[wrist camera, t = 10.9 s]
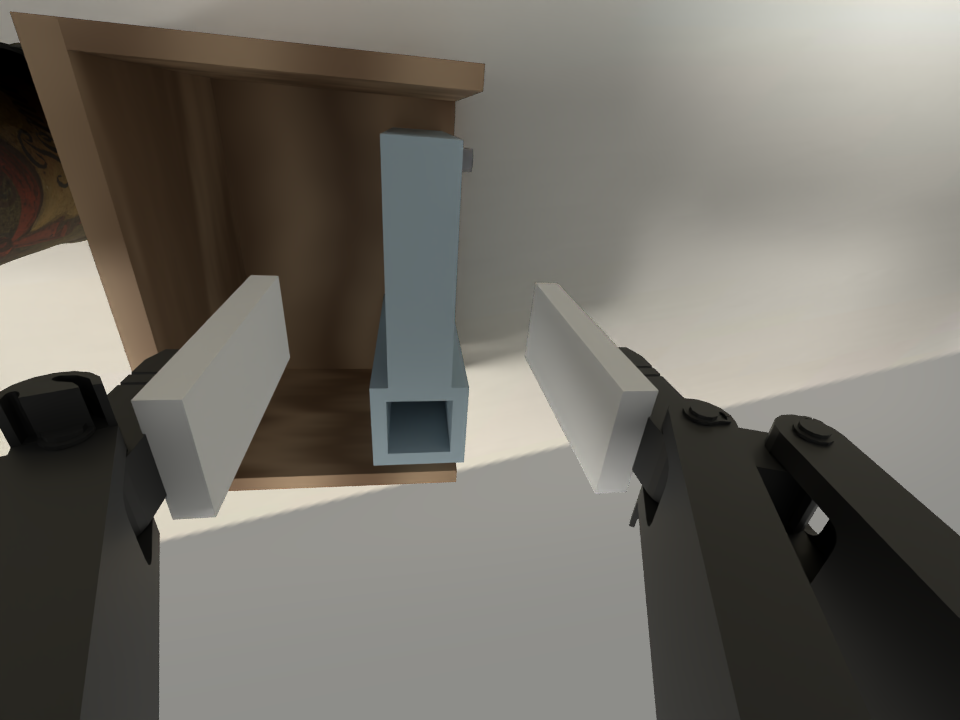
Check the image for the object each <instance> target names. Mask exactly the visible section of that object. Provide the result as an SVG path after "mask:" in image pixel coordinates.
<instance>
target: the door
mask: <svg viewBox="0 0 960 720" xmlns="http://www.w3.org/2000/svg"><path fill="white" fill-rule="evenodd" d="M380 150H381V182H382V214H383V246H384V277H385V294H384V297H383V303H382V310H381V316H380V323H379V329H378V336H377V342H376V349H375V355H374V362H373V368H372V375H371V381H370V388H369V392H370V410H371V428H372V446H373V464H374V466H377V465H403V464H430V463H457V462H464V452H465V438H466V424H467V410H468V396H469V385H468V380H467V376H466V371H465V366H464V362H463V357H462V352H461V348H460V343H459V338H458V334H457V329H456V324H455V304H456V284H457V263H458V243H459V222H460V202H461V181H462V172H471V171H472V165H473V149H470V148H463V140H462V139H460V138H457V137H455V136H453V135H450V134H448V133H445V132H443V131H435V130H422V129H409V128H396V127H392V128H390V129H388V130H387V131H385V132H383V133H381V134H380Z"/></svg>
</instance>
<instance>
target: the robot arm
mask: <svg viewBox="0 0 960 720" xmlns="http://www.w3.org/2000/svg"><path fill="white" fill-rule="evenodd" d="M525 358H526V360H527V362H528V364H529V366H530V368H531V370H532V372H533V374H534V375H535V377H536V379H537V381H538V383H539V385H540V387H541V389H542V391H543V393H544V395H545V397H546V399H547V401H548V403H549V405H550V407H551V409H552V411H553V412H554V414H555V416H556V418H557V420H558V422H559V424H560V426H561V428H562V430H563V432H564V434H565V436H566V438H567V440H568V442H569V444H570V446H571V447H572V449H573V451H574V453H575V455H576V457H577V459H578V461H579V463H580V465H581V467H582V469H583V471H584V473H585V475H586V477H587V479H588V481H589V482H590V484H591V486H592V488H593V490H594V492H595V494H599V493H615V492H627V489H628V486H629V482H630V479H631V476H632V472H634V473H635V475H636V476H637V478H638V479H639V481H640V483H641V484H642V487H641V490H640V493H639V496H638V499H637V502H636V505H635V508H634V511H633V514H632V516H631V520H630V524H629V526H631V527H634V526H635V523H636V521H637V519H639V525H640V535H641V548H642V559H643V570H644V581H645V593H646V604H647V615H648V625H649V637H650V648H651V660H652V671H653V683H654V694H655V704H656V715H657V720H960V536H959V535H958V534H957V533H956V532H955V531H953V530H952V529H951V528H950V527H949V526H948V525H946V524H945V523H944V522H943V521H942V520H941V519H940V518H938V517H937V516H936V515H935V514H934V513H933V512H931V511H930V510H929V509H928V508H927V507H926V506H925V505H923V504H922V503H921V502H920V501H919V500H917V499H916V498H915V497H914V496H913V495H912V494H911V493H910V492H908V491H907V490H906V489H905V488H903V486H901V485H900V484H899V483H898V482H897V481H896V480H894V479H893V478H892V477H891V476H890V475H889V474H887V473H886V472H885V471H884V470H883V469H882V468H880V467H879V466H878V465H877V464H876V463H875V462H874V461H873V460H871V459H870V458H869V457H868V456H867V455H866V454H864V453H863V452H862V451H861V450H860V449H858V448H857V447H856V446H855V445H854V444H852V442H851V441H849V440H848V439H847V438H846V437H845V436H843V435H842V434H841V433H839V432H838V431H836V430H835V429H833V428H832V427H829V426H827V425H825V424H824V423H823V422H821V421H819V420H816V419H812V418H810V417H806V416H797V415H781V416H779V417H777V418H776V419H775V420H774V423H773V425H772V427H771V429H770V431H769V433H767V432H761V431H755V430H749V429H743V428H738V426H737V424H736V422H735V420H734V419H733V418H732V417H731V415H729V414H728V413H727V412H725V411H724V410H722V409H721V408H719V407H717V406H714V405H712V404H710V403H707V402H704V401H700V400H696V399H686V398H683V397H682V396H681V395H680V394H679V393H678V392H677V391H676V390H675V389H674V388H673V387H672V386H671V385H670V384H669V383H668V382H667V381H666V380H665V379H664V378H663V377H662V376H660V374H659V373H658V372H657V371H656V370H655V369H654V368H652V366H651V365H650V364H649V363H648V362H647V361H646V360H645V359H644V358H643V357H642V356H641V355H639V354H637V353H635V352H634V351H632V350H630V349H628V348H626V347H617V346H616V345H615V344H614V343H613V342H612V340H611V339H610V338H609V337H608V336H607V335H606V334H605V333H604V332H603V331H602V330H601V329H600V328H599V327H598V326H597V325H596V323H595V322H594V321H593V320H592V319H591V318H590V317H589V316H588V315H587V314H586V313H585V312H584V311H583V310H582V309H581V307H580V306H579V305H578V304H577V303H576V302H575V301H574V300H573V299H572V298H571V297H570V296H569V295H568V294H567V293H566V292H565V290H564V289H563V288H562V287H561V286H560V285H559V284H558V283H536V282H535V288H534V295H533V302H532V309H531V316H530V323H529V330H528V337H527V344H526V351H525ZM289 359H290V354H289V347H288V339H287V332H286V325H285V318H284V311H283V304H282V297H281V290H280V283H279V276H266V275H250V276H249V277H248V279H247V280H246V281H245V282H244V283H243V284H242V285H241V286H240V287H239V288H238V289H237V290H236V291H235V292H234V293H233V294H232V295H231V296H230V297H229V298H228V299H227V300H226V302H225V303H224V304H223V305H222V306H221V307H220V308H219V309H218V310H217V311H216V312H215V313H214V314H213V315H212V316H211V317H210V318H209V319H208V320H207V321H206V322H205V324H204V325H203V326H202V327H201V328H200V329H199V330H198V331H197V332H196V333H195V334H194V335H193V336H192V337H191V338H190V339H189V340H188V341H187V342H186V343H185V344H184V345H183V347H182V348H181V349H165V350H163V351H161V352H159V353H157V354H155V355H153V356H151V357H149V358H147V359H145V360H144V361H143V362H142V363H141V364H140V365H139V366H138V367H136V368H135V369H134V370H133V371H132V375H128V376H127V377H126V378H125V379H124V380H123V381H122V382H121V385H117V386H116V387H115V388H114V389H113V390H112V391H111V392H110V393H109V394H108V395H107V394H106V391H105V389H104V386H103V383H102V381H101V378H100V376H97V375H95V374H93V373H90V372H79V371H71V372H59V373H52V374H48V375H43V376H38V377H34V378H31V379H28V380H25V381H22V382H19V383H17V384H14V385H12V386H10V387H8V388H6V389H4V390H2V391H0V429H1V430H2V432H3V434H4V436H5V438H6V440H7V442H8V443H9V445H10V447H11V448H10V451H9V453H8V455H6V456H1V457H0V720H159V552H160V547H159V545H160V533H159V530H158V528H157V525H156V522H155V520H154V515H155V513H156V512H157V510H158V509H159V507H160V505H161V504H162V502H163V501H164V499H166V502H167V504H168V507H169V510H170V513H171V516H172V518H173V520H175V519H191V518H208V517H216V516H217V514H218V512H219V509H220V507H221V505H222V503H223V501H224V499H225V496H226V494H227V492H228V490H229V488H230V486H231V484H232V481H233V479H234V477H235V475H236V473H237V471H238V468H239V466H240V464H241V462H242V460H243V458H244V456H245V453H246V451H247V449H248V447H249V445H250V443H251V441H252V438H253V436H254V434H255V432H256V430H257V428H258V425H259V423H260V421H261V419H262V417H263V415H264V413H265V410H266V408H267V406H268V404H269V402H270V400H271V397H272V395H273V393H274V391H275V389H276V387H277V385H278V382H279V380H280V378H281V376H282V374H283V372H284V370H285V367H286V365H287V363H288V361H289ZM818 506H819V507H820V509H821V510H822V511H823V512H824V513H825V514H826V515H827V517H828V518H829V521H828V522H827V524H826V525H825V527H824V528H823V530H822V531H821V532H820V533H819V534H817V533H816V532H815V531H814V530H813V529H812V528H811V527H810V526H809V524H808V522H809V520H810V519H811V517H812V516H813V514H814V512H815V511H816V509H817V507H818Z"/></svg>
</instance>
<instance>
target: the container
mask: <svg viewBox="0 0 960 720" xmlns="http://www.w3.org/2000/svg"><path fill="white" fill-rule="evenodd" d="M85 240H87V238H86V235H85V232H84V229H83V226H82V223H81V220H80V217H79V214H78V211H77V208H76V205H75V202H74V199H73V196H72V193H71V190H70V187H69V185H68V182H67V179H66V176H65V173H64V170H63V167H62V164H61V161H60V158H59V155H58V152H57V149H56V146H55V143H54V140H53V137H52V135H51V132H50V129H49V126H48V123H47V120H46V117H45V114H44V111H43V108H42V105H41V102H40V99H39V96H38V93H37V90H36V87H35V85H34V82H33V79H32V76H31V73H30V70H29V67H28V64H27V61H26V58H25V55H24V52H23V49H22V46H21V43H14V44H10V45H9V44H5V43H0V265H2V264H5V263H8V262H10V261H12V260H15V259H18V258H21V257H24V256H26V255H29V254H32V253H36V252H39V251H41V250H44V249H47V248H50V247H53V246H56V245H59V244H64V243H75V242H81V241H85Z"/></svg>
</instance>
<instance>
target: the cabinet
mask: <svg viewBox="0 0 960 720" xmlns="http://www.w3.org/2000/svg"><path fill="white" fill-rule="evenodd" d="M10 14H11V17H12V20H13V23H14V26H15V29H16V32H17V34H18V37H19V40H20V43H21V46H22V49H23V52H24V55H25V58H26V61H27V64H28V67H29V70H30V73H31V76H32V79H33V82H34V85H35V87H36V90H37V93H38V96H39V99H40V102H41V105H42V108H43V111H44V114H45V117H46V120H47V123H48V126H49V129H50V132H51V135H52V137H53V140H54V143H55V146H56V149H57V152H58V155H59V158H60V161H61V164H62V167H63V170H64V173H65V176H66V179H67V182H68V185H69V187H70V190H71V193H72V196H73V199H74V202H75V205H76V208H77V211H78V214H79V217H80V220H81V223H82V226H83V229H84V232H85V235H86V238H87V240H88V243H89V246H90V249H91V252H92V255H93V258H94V261H95V264H96V267H97V270H98V273H99V276H100V279H101V282H102V285H103V288H104V290H105V293H106V296H107V299H108V302H109V305H110V308H111V311H112V314H113V317H114V320H115V323H116V326H117V329H118V332H119V335H120V338H121V341H122V343H123V346H124V349H125V352H126V355H127V358H128V361H129V364H130V367H131V370H132V371H133V370H134V369H135V368H136V367H138V366H139V365H140V364H141V363H142V362H143V361H144V360H145V359H147V358H149V357H151V356H153V355H155V354H157V353H159V352H161V351H163V350H165V349H181V348H182V347H183V345H184V344H185V343H186V342H187V341H188V340H189V339H190V338H191V337H192V336H193V335H194V334H195V333H196V332H197V331H198V330H199V329H200V328H201V327H202V326H203V325H204V324H205V322H206V321H207V320H208V319H209V318H210V317H211V316H212V315H213V314H214V313H215V312H216V311H217V310H218V309H219V308H220V307H221V306H222V305H223V304H224V303H225V302H226V300H227V299H228V298H229V297H230V296H231V295H232V294H233V293H234V292H235V291H236V290H237V289H238V288H239V287H240V286H241V285H242V284H243V283H244V282H245V281H246V280H247V279H248V277H249V276H250V275H266V276H279V283H280V290H281V297H282V304H283V311H284V318H285V325H286V332H287V339H288V347H289V354H290V359H289V361H288V363H287V365H286V367H285V370H284V372H283V374H282V376H281V378H280V380H279V382H278V385H277V387H276V389H275V391H274V393H273V395H272V397H271V400H270V402H269V404H268V406H267V408H266V410H265V413H264V415H263V417H262V419H261V421H260V423H259V425H258V428H257V430H256V432H255V434H254V436H253V438H252V441H251V443H250V445H249V447H248V449H247V451H246V453H245V456H244V458H243V460H242V462H241V464H240V466H239V468H238V471H237V473H236V475H235V477H234V479H233V481H232V484H231V486H230V488H229V490H228V491H241V490H266V489H291V488H316V487H341V486H366V485H391V484H415V483H440V482H456V474H457V469H456V463H430V464H403V465H377V466H374V464H373V446H372V428H371V410H370V392H369V388H370V381H371V375H372V368H373V362H374V355H375V349H376V342H377V336H378V329H379V323H380V316H381V310H382V303H383V297H384V294H385V277H384V246H383V214H382V182H381V150H380V134H381V133H383V132H385V131H387V130H388V129H390V128H392V127H396V128H409V129H422V130H435V131H443V132H445V133H448V134H450V135H453V136H454V123H455V101H458V100H461V99H463V98H466V97H469V96H472V95H474V94H477V93H480V92H482V91H483V84H484V70H485V64H482V63H473V62H464V61H455V60H446V59H437V58H427V57H418V56H409V55H400V54H391V53H382V52H373V51H364V50H355V49H346V48H337V47H328V46H318V45H309V44H300V43H291V42H282V41H273V40H264V39H255V38H246V37H237V36H228V35H218V34H209V33H200V32H191V31H182V30H173V29H164V28H155V27H146V26H137V25H128V24H119V23H109V22H100V21H91V20H82V19H73V18H64V17H55V16H46V15H37V14H28V13H19V12H10Z"/></svg>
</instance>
